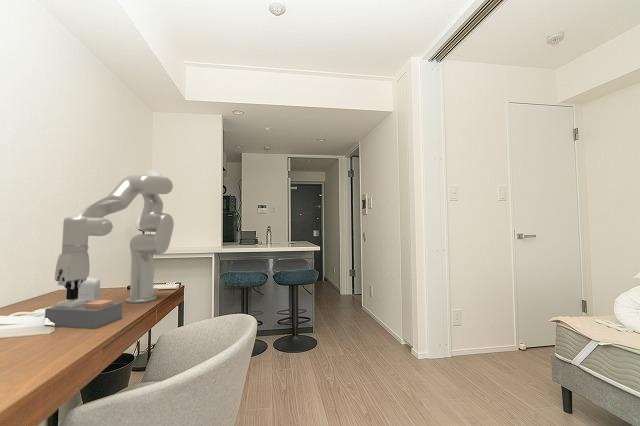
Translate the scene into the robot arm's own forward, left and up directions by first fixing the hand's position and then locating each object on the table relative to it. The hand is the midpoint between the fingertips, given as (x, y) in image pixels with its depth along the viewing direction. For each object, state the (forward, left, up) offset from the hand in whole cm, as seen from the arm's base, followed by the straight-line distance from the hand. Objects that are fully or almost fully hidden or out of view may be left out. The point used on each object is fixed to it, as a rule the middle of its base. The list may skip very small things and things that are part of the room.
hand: (72, 299), depth 111 cm
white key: (0, 0, -5) cm, 5 cm away
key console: (0, +6, -8) cm, 10 cm away
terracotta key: (0, +11, -5) cm, 12 cm away
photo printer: (-19, -12, -8) cm, 24 cm away
